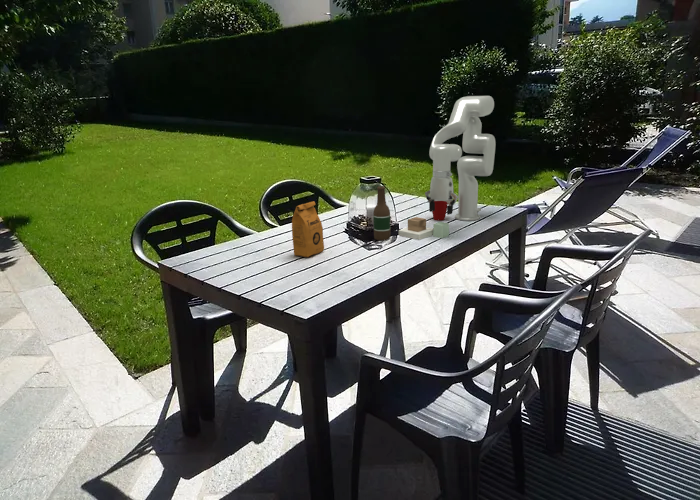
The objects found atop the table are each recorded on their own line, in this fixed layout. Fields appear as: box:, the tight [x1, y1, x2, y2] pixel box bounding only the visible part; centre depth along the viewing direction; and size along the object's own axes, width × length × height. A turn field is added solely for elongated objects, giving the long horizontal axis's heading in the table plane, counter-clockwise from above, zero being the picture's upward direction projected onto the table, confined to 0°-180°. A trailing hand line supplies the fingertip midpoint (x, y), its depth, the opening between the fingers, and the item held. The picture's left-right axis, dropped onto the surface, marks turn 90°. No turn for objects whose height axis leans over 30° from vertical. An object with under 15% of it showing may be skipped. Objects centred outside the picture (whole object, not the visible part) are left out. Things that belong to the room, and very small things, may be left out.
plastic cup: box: [431, 200, 448, 222], centre depth 259 cm, size 11×11×12 cm
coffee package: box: [291, 201, 325, 258], centre depth 212 cm, size 10×12×22 cm
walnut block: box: [407, 216, 427, 232], centre depth 234 cm, size 6×6×5 cm
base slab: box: [398, 226, 433, 241], centre depth 236 cm, size 12×12×2 cm
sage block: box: [432, 221, 450, 239], centre depth 231 cm, size 5×5×6 cm
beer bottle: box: [372, 185, 391, 241], centre depth 229 cm, size 8×8×24 cm
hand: (440, 212), depth 228 cm, fingers open, 9 cm apart
